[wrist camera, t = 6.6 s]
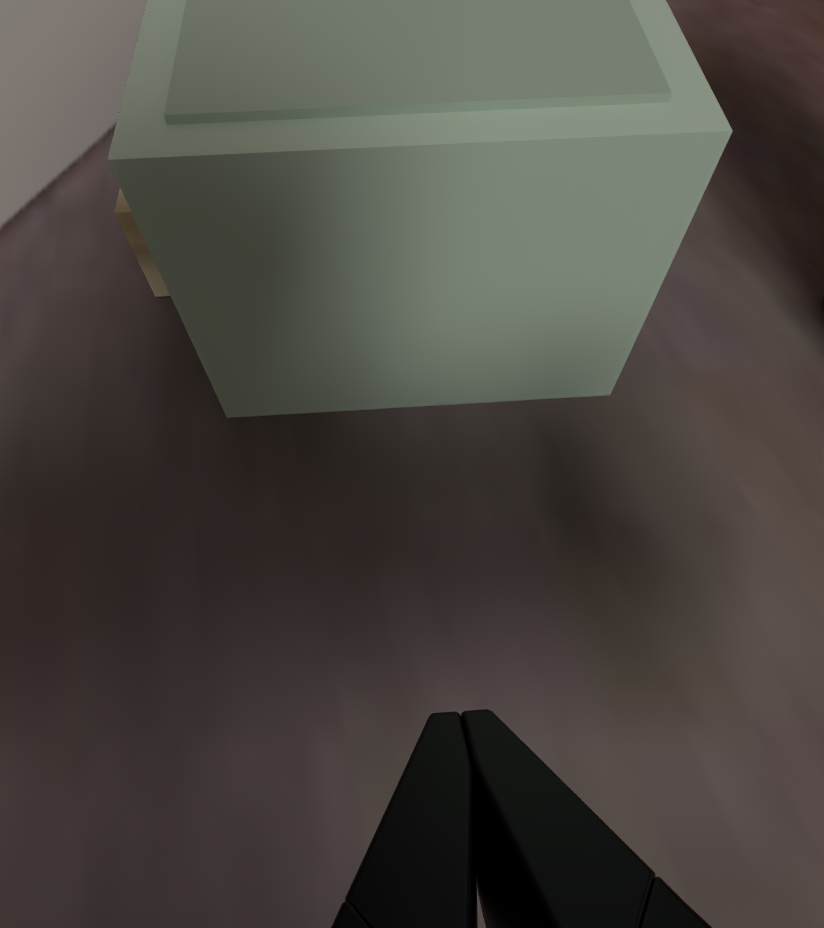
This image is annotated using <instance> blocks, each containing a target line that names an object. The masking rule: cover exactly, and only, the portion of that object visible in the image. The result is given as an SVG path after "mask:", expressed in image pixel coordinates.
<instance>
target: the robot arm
mask: <svg viewBox="0 0 824 928" xmlns="http://www.w3.org/2000/svg"><path fill="white" fill-rule="evenodd" d="M477 889H478V894H479V899H480V903H481V908H482V913H483V917H484V921H485V925H486V928H712V927H711V926H710V925H709V924H708V923H707V922H706V921H705V920H703V919H702V918H701V917H700V916H699V915H698V914H697V913H696V912H695V911H694V910H693V909H692V908H691V907H690V906H689V905H688V904H686V903H685V902H684V901H683V900H682V899H681V898H680V897H679V896H678V895H677V894H676V893H675V892H674V891H673V890H672V889H671V888H670V887H669V886H668V885H667V884H666V883H665V882H664V881H663V880H662V879H661V878H660V877H656V878H655V873H654V871H653V870H652V869H651V868H650V867H649V866H648V865H647V864H646V863H645V862H644V861H643V860H642V859H641V858H640V857H639V856H638V855H637V854H635V853H634V852H633V851H632V850H631V849H630V848H629V847H628V846H627V845H626V844H625V843H624V842H623V841H622V840H621V839H620V838H619V837H618V836H617V835H616V834H615V833H614V832H613V831H612V830H611V829H610V828H609V827H608V826H607V825H606V824H605V823H604V822H603V821H602V820H601V819H600V818H599V817H598V816H597V815H596V814H595V813H594V812H593V811H592V810H591V809H590V808H589V807H588V806H587V805H586V804H585V803H584V802H583V801H582V800H581V799H580V798H579V797H578V796H577V795H576V794H575V793H574V792H573V791H572V790H571V789H570V788H569V787H568V786H567V785H566V784H565V783H564V782H563V781H562V780H561V779H560V778H559V777H558V776H557V775H556V774H555V773H554V772H553V771H552V770H551V769H550V768H549V767H548V766H547V765H546V764H545V763H544V762H543V761H542V760H541V759H540V758H539V757H538V756H537V755H536V754H535V753H534V752H533V751H532V750H531V749H530V748H529V747H528V746H527V745H525V744H524V743H523V742H522V741H521V740H520V739H519V738H518V737H517V736H516V735H515V734H514V733H513V732H512V731H511V730H510V729H509V728H508V727H507V726H506V725H505V724H504V723H503V722H502V721H501V720H500V719H499V718H498V717H497V716H496V715H495V714H494V713H493V712H492V711H490V710H487V709H485V710H471V711H464V712H463V713H462V714H461V716H460V714H459V713H457V712H443V713H433V714H431V715H430V716H429V718H428V720H427V722H426V724H425V726H424V728H423V730H422V733H421V735H420V737H419V739H418V741H417V743H416V746H415V748H414V750H413V752H412V754H411V756H410V759H409V761H408V763H407V765H406V767H405V769H404V772H403V774H402V776H401V778H400V780H399V782H398V785H397V787H396V789H395V791H394V793H393V795H392V798H391V800H390V802H389V804H388V806H387V808H386V811H385V813H384V815H383V817H382V819H381V821H380V824H379V826H378V828H377V830H376V832H375V834H374V837H373V839H372V841H371V843H370V845H369V847H368V850H367V852H366V854H365V856H364V858H363V861H362V863H361V865H360V867H359V869H358V871H357V874H356V876H355V878H354V880H353V882H352V884H351V887H350V889H349V891H348V893H347V895H346V898H345V902H344V903H343V904H342V905H341V907H340V910H339V912H338V914H337V916H336V918H335V920H334V923H333V925H332V927H331V928H478V926H477Z"/></svg>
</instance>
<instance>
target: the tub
mask: <svg viewBox="0 0 824 928" xmlns="http://www.w3.org/2000/svg"><path fill="white" fill-rule="evenodd" d="M732 131H733V130H732V128H731V127H730V125H729V123H728V121H727V119H726V117H725V115H724V113H723V111H722V109H721V107H720V105H719V103H718V101H717V99H716V97H715V95H714V93H713V91H712V89H711V87H710V86H709V84H708V82H707V80H706V78H705V76H704V74H703V72H702V70H701V68H700V66H699V64H698V62H697V60H696V58H695V56H694V54H693V52H692V50H691V48H690V47H689V45H688V43H687V41H686V39H685V37H684V35H683V33H682V31H681V29H680V27H679V25H678V23H677V21H676V19H675V17H674V15H673V13H672V11H671V9H670V7H669V6H668V4H667V2H666V0H148V2H147V6H146V10H145V13H144V17H143V21H142V25H141V29H140V33H139V37H138V41H137V45H136V49H135V53H134V57H133V61H132V65H131V69H130V73H129V77H128V80H127V84H126V88H125V92H124V96H123V100H122V104H121V109H120V112H119V116H118V120H117V124H116V128H115V132H114V136H113V140H112V143H111V147H110V151H109V155H108V159H107V160H108V162H109V164H110V166H111V169H112V171H113V173H114V175H115V177H116V179H117V182H118V184H119V186H120V188H121V190H122V192H123V195H124V197H125V199H126V201H127V203H128V205H129V208H130V210H131V212H132V214H133V216H134V218H135V220H136V223H137V225H138V227H139V229H140V231H141V233H142V236H143V238H144V240H145V242H146V244H147V246H148V249H149V251H150V253H151V255H152V257H153V259H154V262H155V264H156V266H157V268H158V270H159V272H160V274H161V277H162V279H163V281H164V283H165V285H166V287H167V290H168V292H169V294H170V296H171V298H172V300H173V303H174V305H175V307H176V309H177V311H178V313H179V315H180V318H181V320H182V322H183V324H184V326H185V328H186V331H187V333H188V335H189V337H190V339H191V341H192V344H193V346H194V348H195V350H196V352H197V354H198V357H199V359H200V361H201V363H202V365H203V367H204V369H205V372H206V374H207V376H208V378H209V380H210V382H211V385H212V387H213V389H214V391H215V393H216V395H217V398H218V400H219V402H220V404H221V406H222V408H223V410H224V413H225V415H226V417H227V418H233V417H250V416H267V415H284V414H300V413H317V412H334V411H351V410H368V409H385V408H401V407H418V406H435V405H452V404H469V403H485V402H502V401H519V400H536V399H553V398H569V397H586V396H603V395H611V392H612V390H613V388H614V386H615V384H616V382H617V380H618V377H619V375H620V373H621V371H622V369H623V367H624V364H625V362H626V360H627V358H628V356H629V354H630V351H631V349H632V347H633V345H634V343H635V341H636V338H637V336H638V334H639V332H640V330H641V328H642V326H643V323H644V321H645V319H646V317H647V315H648V313H649V310H650V308H651V306H652V304H653V302H654V300H655V297H656V295H657V293H658V291H659V289H660V287H661V285H662V282H663V280H664V278H665V276H666V274H667V272H668V269H669V267H670V265H671V263H672V261H673V259H674V256H675V254H676V252H677V250H678V248H679V246H680V244H681V241H682V239H683V237H684V235H685V233H686V231H687V228H688V226H689V224H690V222H691V220H692V218H693V215H694V213H695V211H696V209H697V207H698V205H699V202H700V200H701V198H702V196H703V194H704V192H705V190H706V187H707V185H708V183H709V181H710V179H711V177H712V174H713V172H714V170H715V168H716V166H717V164H718V161H719V159H720V157H721V155H722V153H723V151H724V149H725V146H726V144H727V142H728V140H729V138H730V136H731V133H732Z"/></svg>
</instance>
